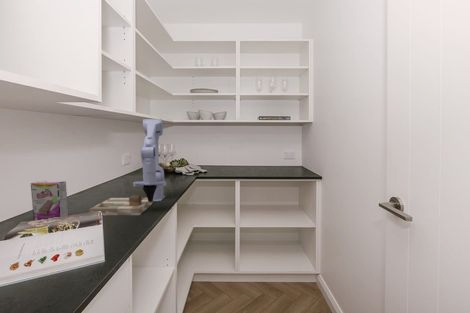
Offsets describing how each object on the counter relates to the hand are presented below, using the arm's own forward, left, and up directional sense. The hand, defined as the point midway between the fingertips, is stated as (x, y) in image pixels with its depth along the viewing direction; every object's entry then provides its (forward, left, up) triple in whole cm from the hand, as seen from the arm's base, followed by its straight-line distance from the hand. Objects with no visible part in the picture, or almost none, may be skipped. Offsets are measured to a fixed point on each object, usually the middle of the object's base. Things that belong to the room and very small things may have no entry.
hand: (150, 201), depth 108 cm
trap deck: (-4, -14, -5) cm, 15 cm away
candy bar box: (+10, -38, -5) cm, 40 cm away
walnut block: (0, -7, -2) cm, 7 cm away
